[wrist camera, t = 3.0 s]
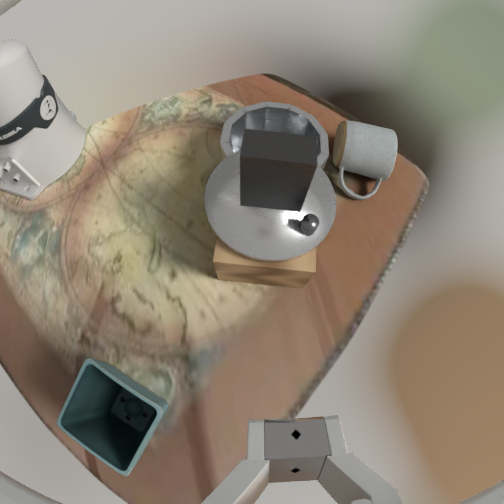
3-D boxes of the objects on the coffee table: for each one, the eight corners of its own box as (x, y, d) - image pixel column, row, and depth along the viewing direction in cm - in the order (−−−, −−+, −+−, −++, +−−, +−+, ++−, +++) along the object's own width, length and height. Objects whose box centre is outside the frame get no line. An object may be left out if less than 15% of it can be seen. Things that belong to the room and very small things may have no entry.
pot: (217, 205, 39) (212, 175, 32) (230, 132, 43) (229, 98, 37) (316, 216, 39) (330, 188, 32) (316, 141, 43) (325, 109, 37)
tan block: (218, 279, 36) (212, 261, 29) (228, 210, 39) (225, 181, 32) (302, 288, 36) (315, 272, 29) (305, 218, 39) (317, 191, 32)
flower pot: (184, 396, 31) (164, 409, 22) (152, 453, 28) (126, 478, 20) (121, 357, 32) (86, 355, 24) (93, 413, 29) (54, 424, 21)
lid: (194, 254, 29) (177, 212, 21) (216, 144, 34) (210, 87, 25) (334, 268, 29) (367, 233, 21) (332, 157, 33) (353, 104, 25)
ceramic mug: (330, 139, 44) (343, 105, 36) (379, 151, 43) (397, 121, 36) (327, 196, 40) (342, 165, 33) (381, 208, 40) (404, 181, 33)
